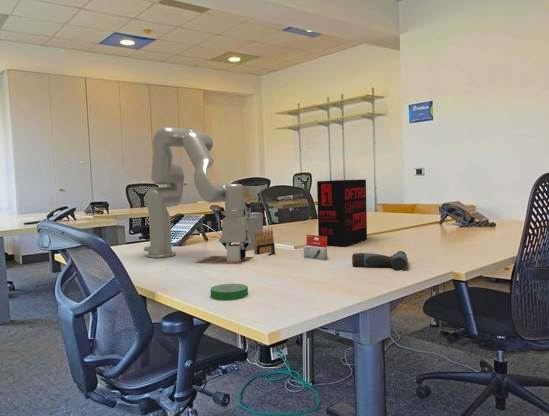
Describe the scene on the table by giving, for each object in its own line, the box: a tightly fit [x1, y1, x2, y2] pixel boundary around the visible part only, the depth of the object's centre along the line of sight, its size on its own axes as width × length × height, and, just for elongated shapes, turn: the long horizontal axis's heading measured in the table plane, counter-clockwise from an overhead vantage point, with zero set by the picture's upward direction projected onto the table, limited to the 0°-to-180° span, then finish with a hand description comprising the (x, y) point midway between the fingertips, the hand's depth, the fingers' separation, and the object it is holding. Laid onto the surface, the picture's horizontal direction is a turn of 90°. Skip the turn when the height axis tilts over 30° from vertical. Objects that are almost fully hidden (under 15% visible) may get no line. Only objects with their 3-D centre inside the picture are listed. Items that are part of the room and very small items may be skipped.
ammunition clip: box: [253, 227, 276, 256], centre depth 202 cm, size 11×2×12 cm, turn 132°
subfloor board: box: [194, 255, 255, 265], centre depth 187 cm, size 20×16×1 cm
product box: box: [316, 179, 368, 248], centre depth 232 cm, size 26×14×32 cm, turn 145°
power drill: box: [351, 250, 409, 271], centre depth 173 cm, size 5×19×20 cm
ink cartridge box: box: [303, 234, 329, 261], centre depth 190 cm, size 2×11×10 cm, turn 47°
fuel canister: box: [243, 200, 264, 251], centre depth 222 cm, size 15×5×25 cm, turn 144°
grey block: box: [225, 243, 245, 262], centre depth 186 cm, size 5×8×6 cm, turn 163°
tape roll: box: [210, 283, 249, 301], centre depth 135 cm, size 11×11×3 cm
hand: (236, 258), depth 186 cm, fingers closed on grey block, 5 cm apart
